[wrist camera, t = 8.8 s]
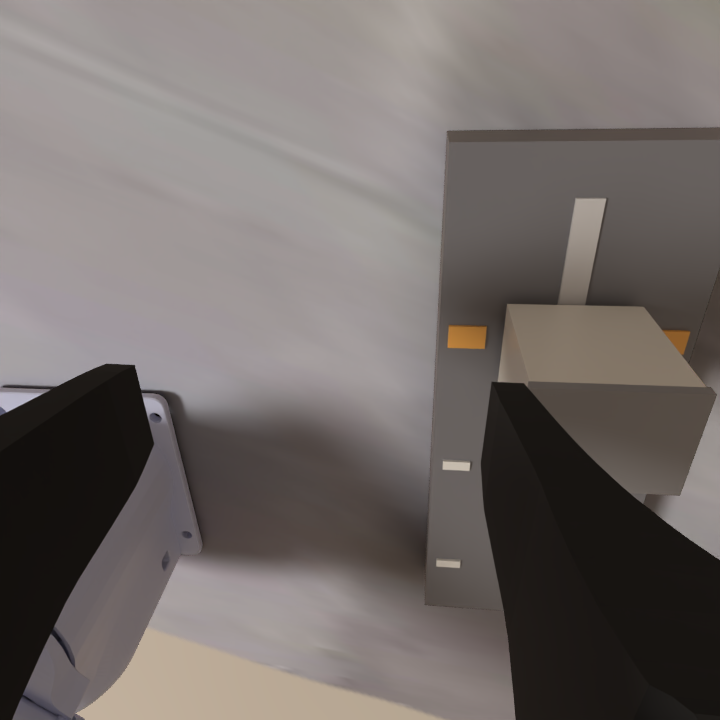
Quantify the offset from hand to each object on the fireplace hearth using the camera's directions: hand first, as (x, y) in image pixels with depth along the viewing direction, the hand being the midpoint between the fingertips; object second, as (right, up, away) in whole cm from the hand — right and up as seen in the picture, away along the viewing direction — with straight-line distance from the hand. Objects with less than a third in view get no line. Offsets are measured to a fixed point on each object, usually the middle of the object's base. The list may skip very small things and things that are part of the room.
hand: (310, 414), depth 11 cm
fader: (+8, +1, +6) cm, 10 cm away
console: (+8, -1, +10) cm, 13 cm away
